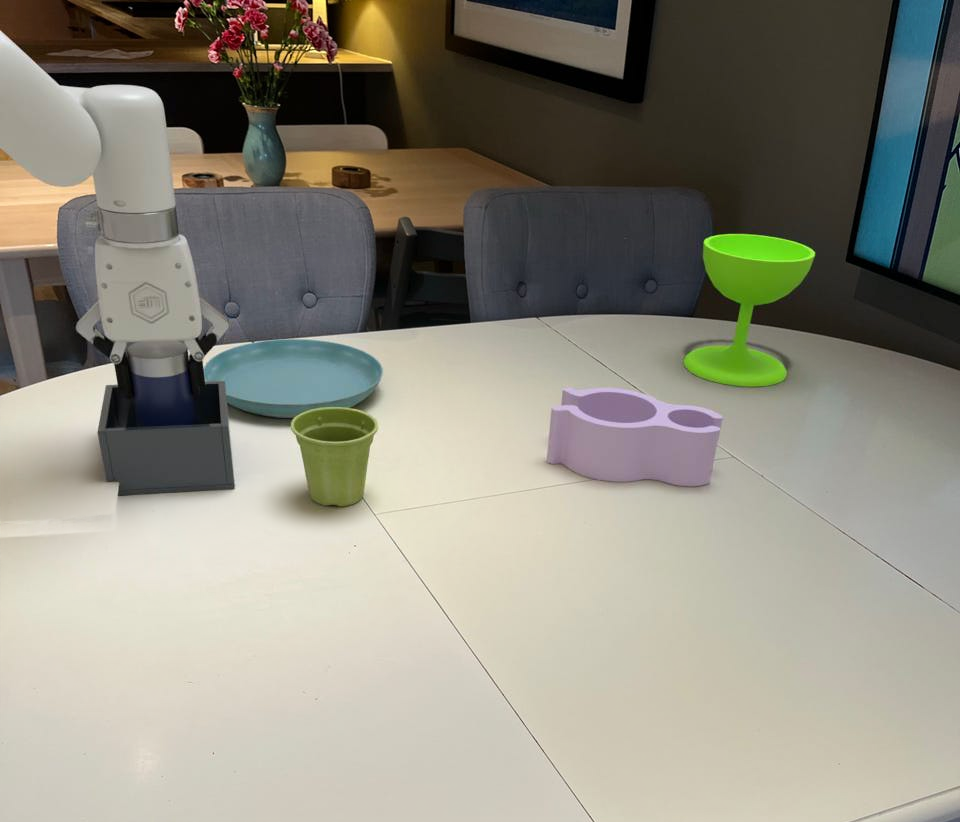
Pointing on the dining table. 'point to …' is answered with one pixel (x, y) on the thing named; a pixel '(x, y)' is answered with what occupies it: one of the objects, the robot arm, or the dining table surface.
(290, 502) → the dining table surface
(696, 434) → the clip
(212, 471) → the open box
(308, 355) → the teal plate
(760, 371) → the wineglass
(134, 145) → the robot arm
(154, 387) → the tin can
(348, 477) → the plant pot
